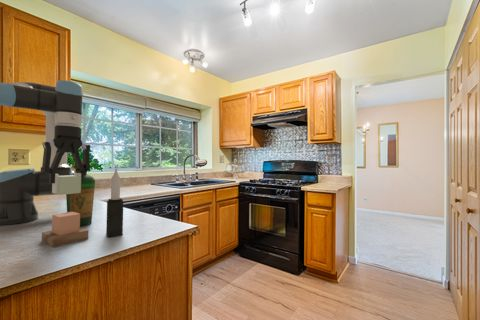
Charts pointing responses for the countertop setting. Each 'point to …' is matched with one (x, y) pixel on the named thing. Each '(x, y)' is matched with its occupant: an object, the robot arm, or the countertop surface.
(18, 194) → the robot arm
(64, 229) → the brick
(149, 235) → the countertop surface
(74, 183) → the brick
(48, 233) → the base block
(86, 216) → the bottle
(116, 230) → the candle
